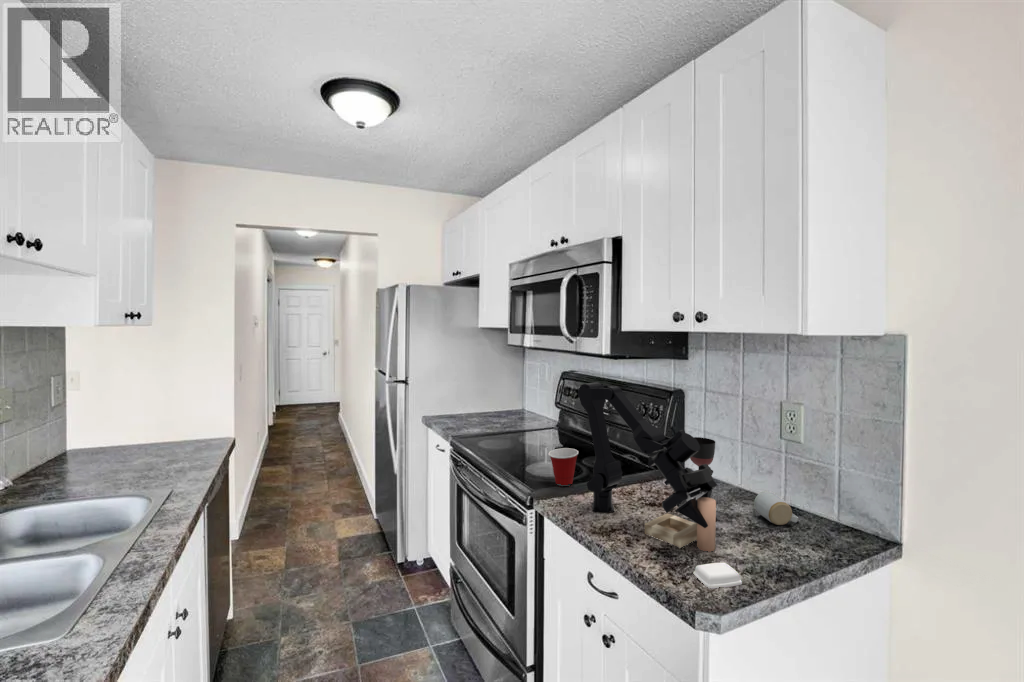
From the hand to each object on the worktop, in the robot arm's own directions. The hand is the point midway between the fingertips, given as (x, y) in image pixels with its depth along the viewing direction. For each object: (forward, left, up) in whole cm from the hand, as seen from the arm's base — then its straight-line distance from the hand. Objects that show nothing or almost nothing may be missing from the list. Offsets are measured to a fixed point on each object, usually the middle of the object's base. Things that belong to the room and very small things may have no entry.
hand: (711, 524), depth 124 cm
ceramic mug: (-20, +25, -7) cm, 33 cm away
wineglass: (-33, +7, -7) cm, 35 cm away
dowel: (-1, -1, -7) cm, 7 cm away
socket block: (-8, -8, -7) cm, 13 cm away
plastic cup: (-46, -37, -7) cm, 60 cm away
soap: (+14, -3, -7) cm, 16 cm away
